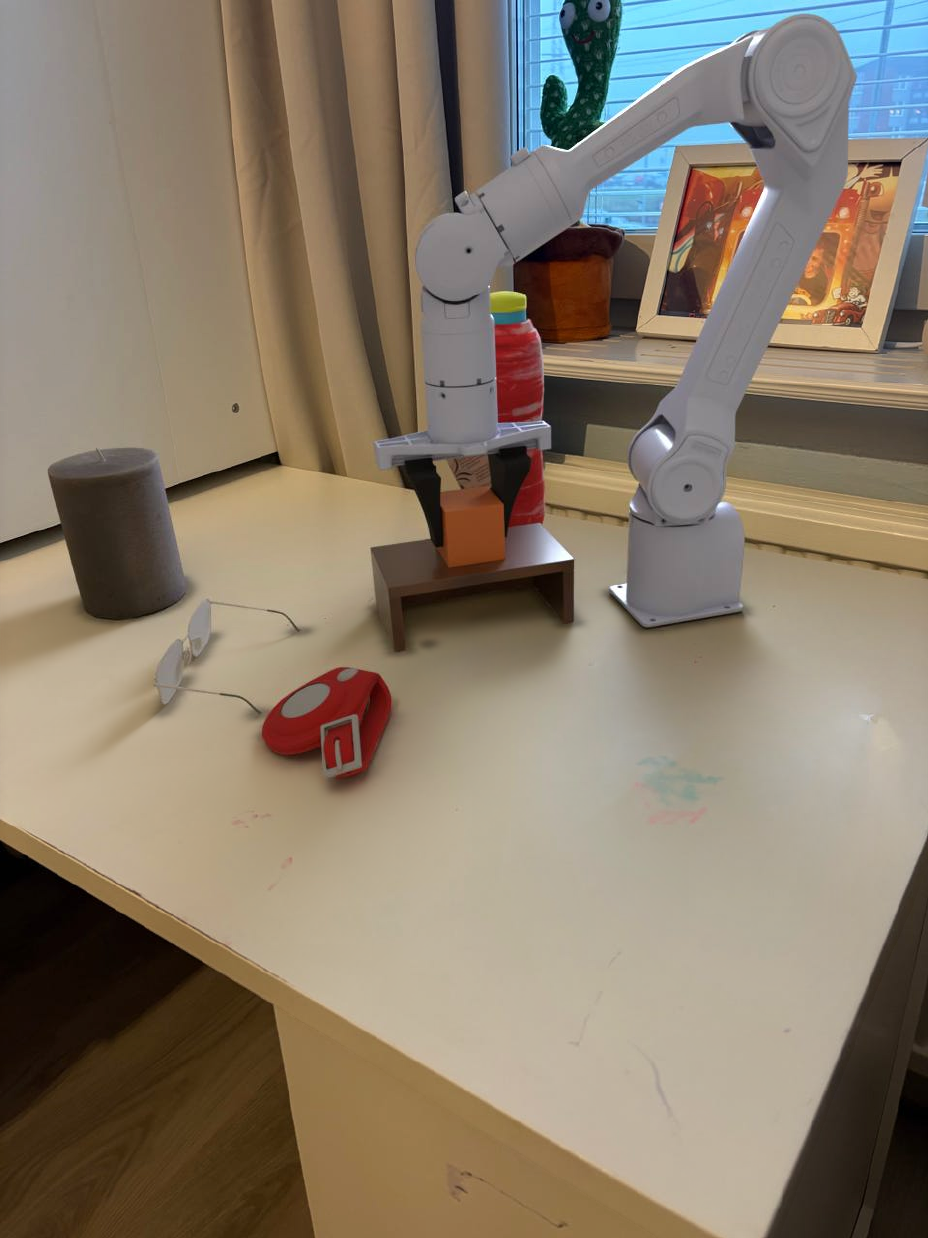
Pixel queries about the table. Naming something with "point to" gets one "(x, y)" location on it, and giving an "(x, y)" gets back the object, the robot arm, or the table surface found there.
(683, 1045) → the table surface
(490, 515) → the plain orange wooden cube
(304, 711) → the tracker holder
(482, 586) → the shelf
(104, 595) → the pillar candle
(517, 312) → the water bottle
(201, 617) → the eyeglasses
